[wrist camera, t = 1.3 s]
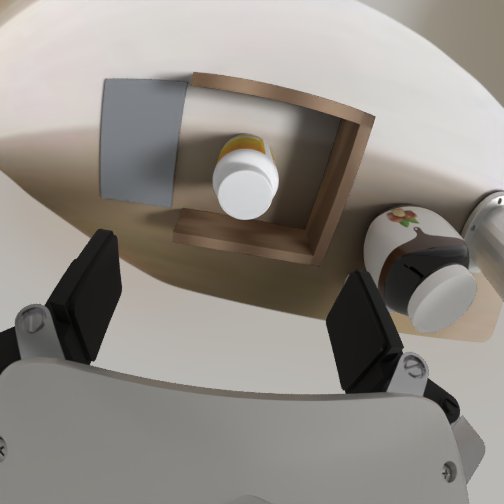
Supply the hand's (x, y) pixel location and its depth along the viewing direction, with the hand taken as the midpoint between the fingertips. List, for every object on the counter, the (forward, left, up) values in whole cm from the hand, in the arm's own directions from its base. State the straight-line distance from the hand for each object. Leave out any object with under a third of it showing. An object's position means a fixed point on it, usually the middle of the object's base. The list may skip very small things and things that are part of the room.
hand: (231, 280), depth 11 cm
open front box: (-1, 0, -16) cm, 16 cm away
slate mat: (+10, 0, -16) cm, 19 cm away
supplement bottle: (0, 0, -17) cm, 17 cm away
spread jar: (-18, +6, -17) cm, 25 cm away
